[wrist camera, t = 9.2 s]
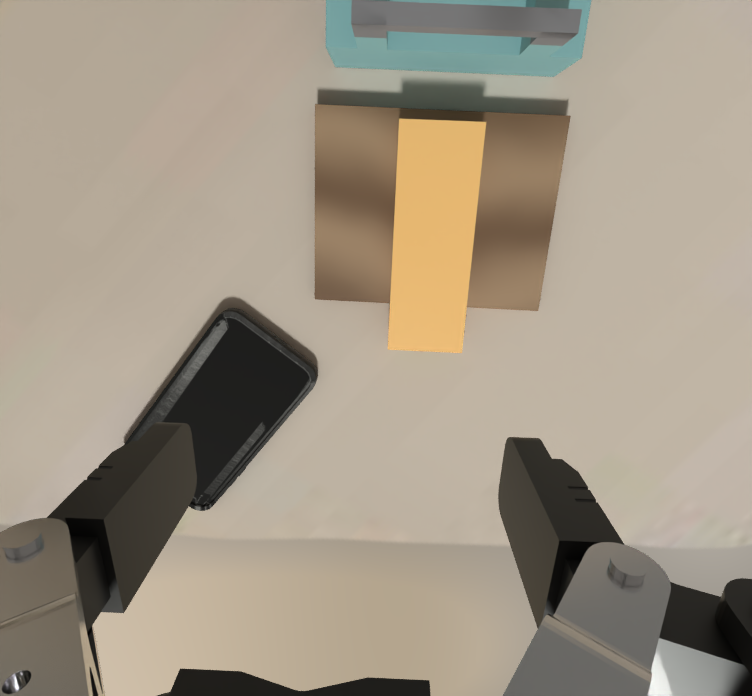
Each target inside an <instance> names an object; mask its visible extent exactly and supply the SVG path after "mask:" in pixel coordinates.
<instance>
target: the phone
mask: <svg viewBox="0 0 752 696" xmlns="http://www.w3.org/2000/svg"><path fill="white" fill-rule="evenodd" d="M275 338H276V339H275ZM279 341H280V342H279ZM283 344H284V345H283ZM303 358H304V359H303ZM317 377H318V372H317V369H316V367H315V365H314V364H313V363H312V362H311V361H309V360H308V359H307V358H305V357H304V356H303V355H301V354H300V353H299V352H297V351H296V350H295V349H293V348H292V347H291V346H289V345H288V344H287V343H285V342H284V341H283V340H281V339H280V338H279V337H277V336H276V335H275V334H273V333H272V332H271V331H269V330H268V329H267V328H265V327H264V326H263V325H261V324H260V323H259V322H257V321H256V320H255V319H253V318H252V317H251V316H249V315H248V314H247V313H245V312H244V311H242V310H240V309H235V308H233V309H228V310H225V311H224V312H222V313H221V314H220V315H219V316H218V317H217V318H216V319H215V321H214V322H213V323H212V325H211V326H210V327H209V329H208V330H207V332H206V333H205V334H204V336H203V337H202V338H201V340H200V341H199V343H198V344H197V345H196V347H195V348H194V349H193V351H192V352H191V354H190V355H189V356H188V358H187V359H186V360H185V362H184V363H183V365H182V366H181V367H180V369H179V370H178V371H177V373H176V374H175V376H174V377H173V378H172V380H171V381H170V383H169V384H168V385H167V387H166V388H165V389H164V391H163V392H162V394H161V395H160V396H159V398H158V399H157V400H156V402H155V403H154V405H153V406H152V407H151V409H150V410H149V411H148V413H147V414H146V416H145V417H144V418H143V420H142V421H141V422H140V424H139V425H138V427H137V428H136V429H135V431H134V432H133V433H132V435H131V436H130V438H129V439H128V440H127V442H126V443H125V445H126V444H128V443H129V442H131V441H138V440H139V439H140V438H141V437H142V436H143V435H144V434H145V432H146V431H147V430H148V429H149V428H150V427H151V426H152V425H153V424H154V423H156V422H165V423H186V424H188V425H189V426H190V428H191V433H192V441H193V449H194V457H195V465H196V473H197V484H196V490H195V494H194V497H193V499H192V501H191V503H190V505H189V507H191V508H193V509H195V510H199V511H205V510H208V509H210V508H211V507H212V506H213V505H214V504H215V503H216V502H217V500H218V499H219V498H220V497H221V496H222V495H223V494H224V493H225V491H226V490H227V489H228V488H229V487H230V486H231V485H232V484H233V482H234V481H235V480H236V479H237V477H238V476H240V475H241V473H242V472H243V471H244V470H245V468H246V466H247V465H248V464H249V463H250V462H251V461H252V459H253V458H254V457H255V456H256V455H257V453H258V452H259V451H260V450H261V449H262V448H263V446H264V445H265V444H266V443H267V442H268V441H269V439H270V438H271V437H272V436H273V435H274V434H275V432H276V431H277V430H278V429H279V428H280V426H281V425H282V424H283V423H284V422H285V421H286V419H287V418H288V417H289V416H290V415H291V414H292V412H293V411H294V410H295V409H296V408H297V407H298V405H299V404H300V403H301V402H302V401H303V399H304V398H305V397H306V396H307V395H308V394H309V392H310V391H311V390H312V389H313V387H314V386H315V384H316V381H317Z"/></svg>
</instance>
